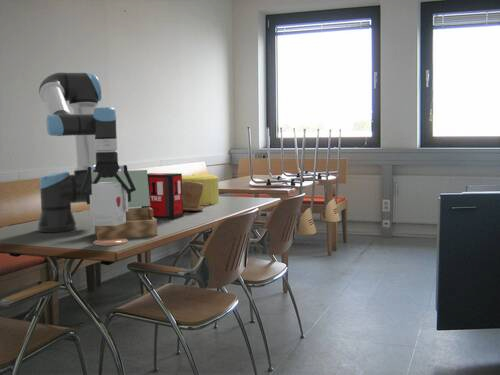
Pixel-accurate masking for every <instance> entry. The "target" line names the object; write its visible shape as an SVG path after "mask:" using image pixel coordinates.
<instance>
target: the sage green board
mask: <svg viewBox="0 0 500 375" xmlns="http://www.w3.org/2000/svg"><path fill="white" fill-rule="evenodd" d="M127 171H128V173H129V176H130V178H131V180H132V182H133V184H134V186H135V189H136V190H135V191H133V192H131V202H128V208H141V206H150V197H149V187H148V176H147V174H148V170H147V169H140V170H139V169H136V170H135V169H134V170H127ZM117 174H118V176H119V177H120V178H121V179H122V181H123V182H124V183H125V184H126V186H127V187H128V188H129V189H130V188H131V187H130V185H129V183H128V181H127V178H126V176H125V174H124V171H122V170H118V172H117ZM91 175H92V183H93V181H94V180H95V178H96V177H97V175H98V172H92V173H91ZM101 182H118V180H117V179H116V178H115V177H112V178H110V177H107V178H102V177H101V178H100V180H99V181H98V183H101ZM124 192H125V193H127V191H126V190H125V189H124Z"/></svg>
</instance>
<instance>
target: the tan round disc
mask: <svg viewBox="0 0 500 375" xmlns="http://www.w3.org/2000/svg"><path fill="white" fill-rule="evenodd" d="M128 242H129V241H128V239H127V238H105V239H99V240H98V239H96V240H94V241H93V245H95V246H98V247H112V246H121V245H125V244H127V243H128Z"/></svg>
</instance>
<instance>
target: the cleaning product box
mask: <svg viewBox="0 0 500 375" xmlns="http://www.w3.org/2000/svg"><path fill="white" fill-rule="evenodd" d="M182 174H183V173H171V172H170V173H164V172H163V173H158V172H157V173H155V172H153V173H152V172H149V173H147V176H148V187H149V197H150V206H140V208H148V207H151V208H152V209H153V217H154V218H155V219H156V220H170V219H171V220H177V219H181V218H183V217H184V211H183V198H182V176H183V175H182Z"/></svg>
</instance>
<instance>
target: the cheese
mask: <svg viewBox="0 0 500 375" xmlns="http://www.w3.org/2000/svg"><path fill="white" fill-rule="evenodd" d="M184 181H189V182H197V183H202V184H203V191H202V195H201V198H200V201H199V204H200V205H203V206H209V204H212V205H216V203H217V204H218V203H220V202H219V201H220V200H219V199H220V198H219V196H220V195H219V193H220V192H219V177H218V176H217V175H215V174H210V173H209V174H206V173H205V174H204V173H199V174H198V173H197V174H195V173H194V174H192V175H182V183H183V182H184ZM182 198H183V195H182Z"/></svg>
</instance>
